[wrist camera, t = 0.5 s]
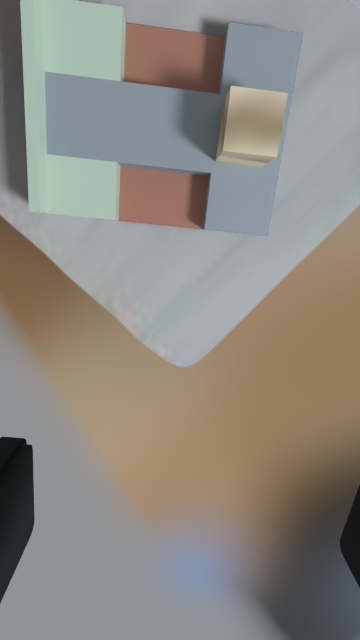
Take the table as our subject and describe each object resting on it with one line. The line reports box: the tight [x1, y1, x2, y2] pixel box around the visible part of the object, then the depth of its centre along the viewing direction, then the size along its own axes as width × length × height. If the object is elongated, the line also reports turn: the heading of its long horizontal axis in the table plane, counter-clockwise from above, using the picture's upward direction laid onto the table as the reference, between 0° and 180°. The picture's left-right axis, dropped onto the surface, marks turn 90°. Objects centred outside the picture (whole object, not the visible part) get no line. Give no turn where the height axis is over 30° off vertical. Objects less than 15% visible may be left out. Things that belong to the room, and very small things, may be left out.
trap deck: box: [20, 0, 303, 236], centre depth 29 cm, size 17×23×4 cm
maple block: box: [215, 86, 288, 167], centre depth 27 cm, size 4×4×4 cm
